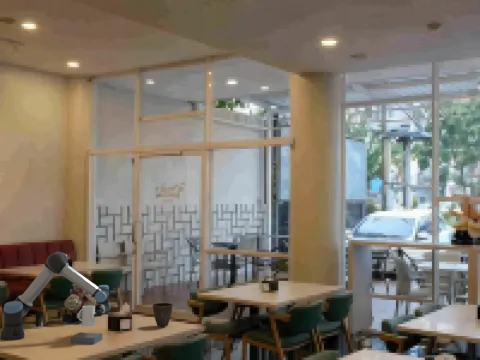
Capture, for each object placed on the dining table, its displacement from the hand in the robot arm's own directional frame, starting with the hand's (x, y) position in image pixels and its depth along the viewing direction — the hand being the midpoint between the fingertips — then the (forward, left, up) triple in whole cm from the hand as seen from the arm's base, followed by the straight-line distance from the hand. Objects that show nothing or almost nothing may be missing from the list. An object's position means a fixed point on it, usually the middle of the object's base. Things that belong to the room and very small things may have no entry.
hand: (84, 316), depth 378 cm
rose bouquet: (-33, +68, -17) cm, 77 cm away
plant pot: (+35, +62, -17) cm, 73 cm away
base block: (0, +5, -17) cm, 18 cm away
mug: (-1, +4, -7) cm, 8 cm away
